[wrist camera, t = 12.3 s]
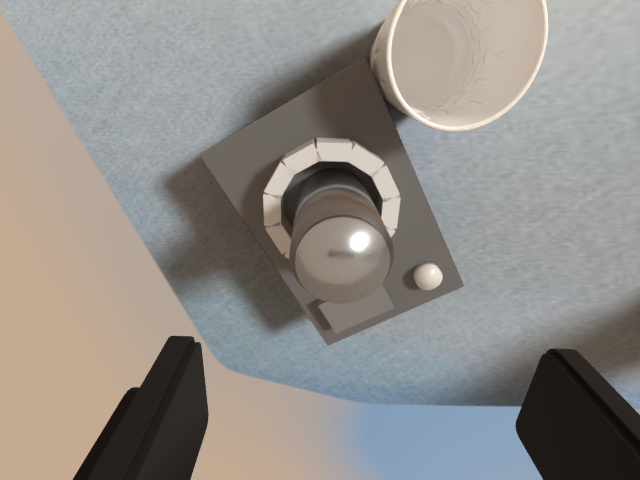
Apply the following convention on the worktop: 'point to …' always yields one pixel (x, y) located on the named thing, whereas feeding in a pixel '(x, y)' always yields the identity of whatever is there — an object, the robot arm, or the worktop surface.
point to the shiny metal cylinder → (338, 238)
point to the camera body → (346, 153)
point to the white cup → (458, 58)
